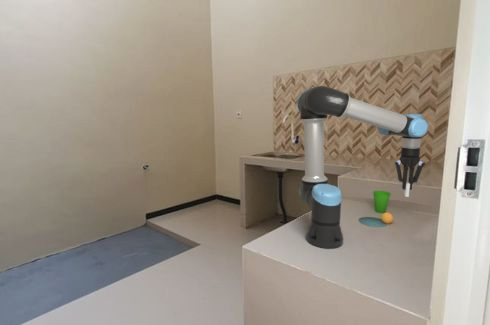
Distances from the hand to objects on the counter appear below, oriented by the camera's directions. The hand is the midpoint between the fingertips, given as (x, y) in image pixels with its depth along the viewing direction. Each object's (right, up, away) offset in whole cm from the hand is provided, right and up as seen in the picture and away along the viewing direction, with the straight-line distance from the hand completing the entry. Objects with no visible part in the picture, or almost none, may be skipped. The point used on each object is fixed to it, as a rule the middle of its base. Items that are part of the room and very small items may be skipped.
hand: (406, 196), depth 132 cm
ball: (-7, -11, +3) cm, 14 cm away
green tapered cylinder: (-2, -11, +20) cm, 23 cm away
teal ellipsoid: (-14, -14, +6) cm, 20 cm away
